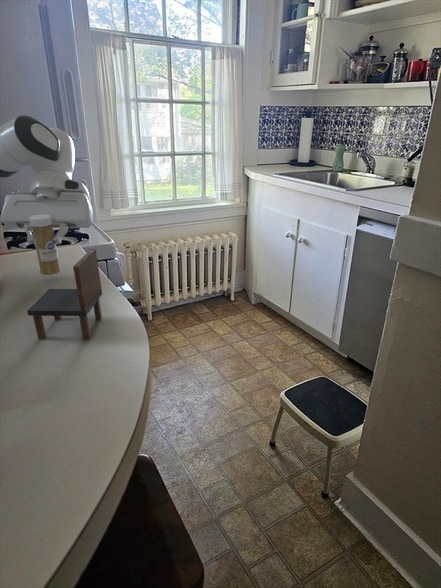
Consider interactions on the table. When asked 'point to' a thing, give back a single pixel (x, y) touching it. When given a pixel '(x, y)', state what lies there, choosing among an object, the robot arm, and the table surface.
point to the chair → (72, 297)
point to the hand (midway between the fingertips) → (44, 243)
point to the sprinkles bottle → (45, 244)
